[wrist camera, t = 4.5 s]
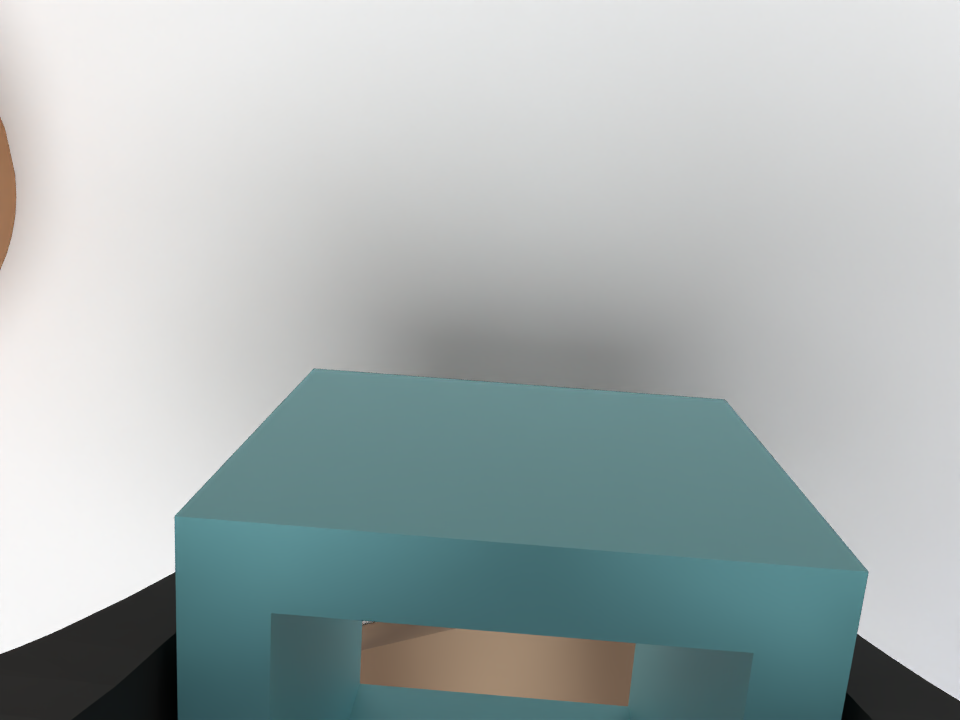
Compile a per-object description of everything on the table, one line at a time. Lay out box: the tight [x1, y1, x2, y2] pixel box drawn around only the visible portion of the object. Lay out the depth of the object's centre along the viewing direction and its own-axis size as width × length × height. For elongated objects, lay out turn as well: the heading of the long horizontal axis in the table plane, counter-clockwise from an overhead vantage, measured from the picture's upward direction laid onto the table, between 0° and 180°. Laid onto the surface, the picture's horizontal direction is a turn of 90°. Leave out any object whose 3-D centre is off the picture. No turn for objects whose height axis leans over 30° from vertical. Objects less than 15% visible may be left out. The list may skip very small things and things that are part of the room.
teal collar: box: [175, 369, 868, 720], centre depth 10 cm, size 6×6×5 cm
